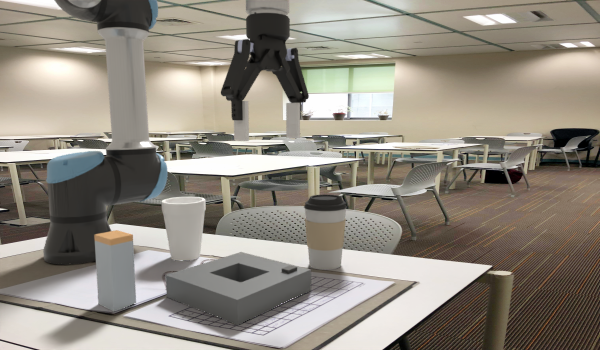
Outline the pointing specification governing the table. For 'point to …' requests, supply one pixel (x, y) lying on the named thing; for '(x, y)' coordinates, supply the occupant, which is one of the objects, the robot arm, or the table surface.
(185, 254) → the foam cup
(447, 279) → the table surface
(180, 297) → the socket block
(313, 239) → the coffee cup
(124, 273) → the plug peg
